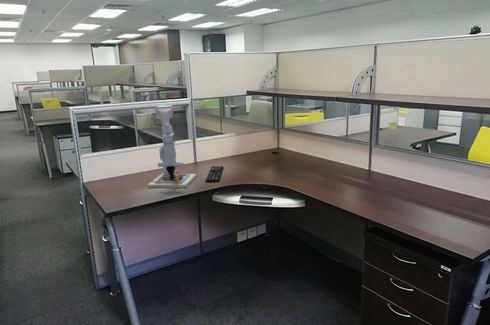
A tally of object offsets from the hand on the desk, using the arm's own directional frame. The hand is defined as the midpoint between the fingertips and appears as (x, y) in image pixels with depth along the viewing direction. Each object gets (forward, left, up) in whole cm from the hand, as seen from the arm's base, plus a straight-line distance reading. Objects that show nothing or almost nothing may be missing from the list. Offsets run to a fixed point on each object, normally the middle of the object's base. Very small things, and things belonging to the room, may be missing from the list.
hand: (172, 179), depth 202 cm
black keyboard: (-23, +20, -5) cm, 31 cm away
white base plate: (-8, -2, -4) cm, 9 cm away
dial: (-6, -1, -2) cm, 7 cm away
